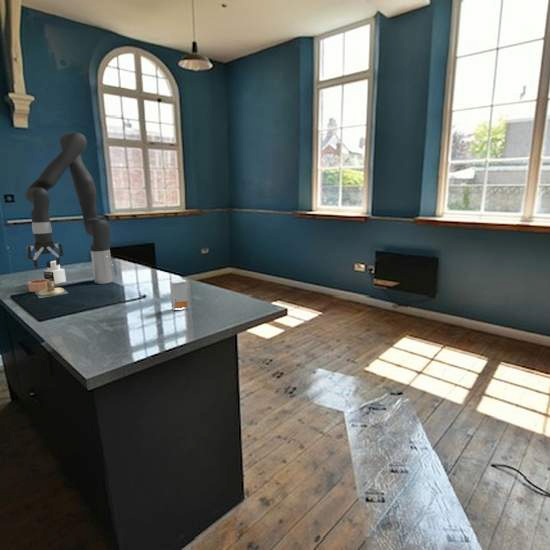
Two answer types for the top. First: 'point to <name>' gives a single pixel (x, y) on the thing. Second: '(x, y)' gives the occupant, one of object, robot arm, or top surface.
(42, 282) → the bowl
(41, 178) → the robot arm
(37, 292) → the mat
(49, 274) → the medicine bottle
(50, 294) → the lid
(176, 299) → the skincare box
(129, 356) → the top surface
